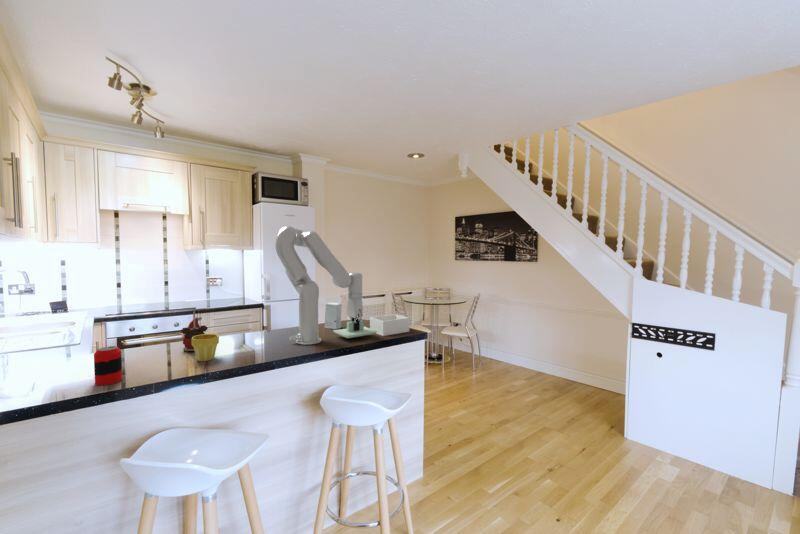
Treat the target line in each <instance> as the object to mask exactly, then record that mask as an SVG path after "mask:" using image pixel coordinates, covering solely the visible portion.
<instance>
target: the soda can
mask: <svg viewBox="0 0 800 534" xmlns="http://www.w3.org/2000/svg"><path fill="white" fill-rule="evenodd" d="M122 360H123V359H122V349H120V348H119V347H118V346H114V345H112V346H104V347H100V348H98V349H97V350H96V351H95V352H94V353H93V364H94V365H93V366H94V369H93V370H94V384H95V386H100V385H102V386H108V384H110V385H113V384H112V383H114V384H117V383H119V382H121V381H122V380H123V365H122V364H123V363H122V362H123V361H122ZM120 380H121V381H120ZM118 381H119V382H118ZM116 382H117V383H116Z"/></svg>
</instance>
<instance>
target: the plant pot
mask: <svg viewBox="0 0 800 534" xmlns="http://www.w3.org/2000/svg"><path fill="white" fill-rule="evenodd" d="M219 343H220V335H219V334H216V333H205V334H202V335H196V336H193V337H192V346H193V347H194V351H193V352H194V354H195V355H194V356H195V357H196V358H195V359H196V360H197V361H198V362H207V361H211V360H214V359H215V355H216V350H217V346H218V344H219Z"/></svg>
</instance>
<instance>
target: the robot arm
mask: <svg viewBox="0 0 800 534" xmlns="http://www.w3.org/2000/svg"><path fill="white" fill-rule="evenodd" d="M295 246H297V247H302V248H307V250H308V251H309V252H310V253H311V255H312V257H313V258H314V259H315V260H316V262H317V263H318V264H319V265H320V266H321V267H322V268H323V269H325V270H326V271H327V272H328V273H329V275H331V277H332V278H331V279H332V283H333V284H334V285H335V286H336V287H339V288H342V289H346V288H347V303H346V304H347V305H346V315H347V317H348V318H350V321H349V322H351V321H354V322H355V323H354V331H357V330H360V320H363V315H364V314H363V313H364V305H363V275H362V274H363V273H361V272H348V271H347V270H346V268H345V267H344V265H343V264H342V263H341V262H340V261H339V259H338V258H337V257H336V256H335V255H334V254H333V253H332V252H331V250H330V248H329V247H328V246H327V244H326V243H325V242H324V240H323V239H322V237H321V236H320V235H319V234H318V233H317V232H316V231H313V230H308V231H307V230H302V229H297V228H295V227H293V226H291V225H285V226H283V227H280V229H279V230H278V232H277V236H276V239H275V251H276V254H277V256H278V259H279V260H280V262H281V263H282V266H283V267H284V269H285V274H286V276H287V278H288V279H289V281H290V282H291V284H292V286H293V288H294V289H295V291H296V292H297V294H298V297H299V298H298V301H299V302H298V332H297V333H296V334H295V335H290V336H289V341H292V340H293V341H295V343H296V344H298V345H301V346H302V345H305V346H307V345H317V344H319V343H322V338H321V337H319V299H320V298H319V297H320V288H319V285H318V284H317V282H315V281H314V280H312V278H311V277H310V275H309V273H308V270H307V269H308V268H307V267H306V265H305V264H304V263H303V261H302V260H301V258H300V256H299V255H298V252H297V251H296V249H295Z"/></svg>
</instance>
